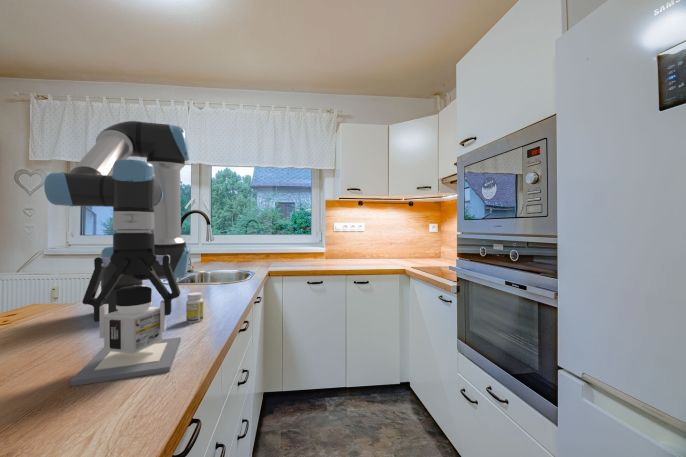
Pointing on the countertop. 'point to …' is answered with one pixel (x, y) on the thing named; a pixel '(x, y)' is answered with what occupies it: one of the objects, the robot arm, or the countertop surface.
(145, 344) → the container
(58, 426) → the countertop surface
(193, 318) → the supplement bottle
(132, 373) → the board
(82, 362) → the countertop surface
